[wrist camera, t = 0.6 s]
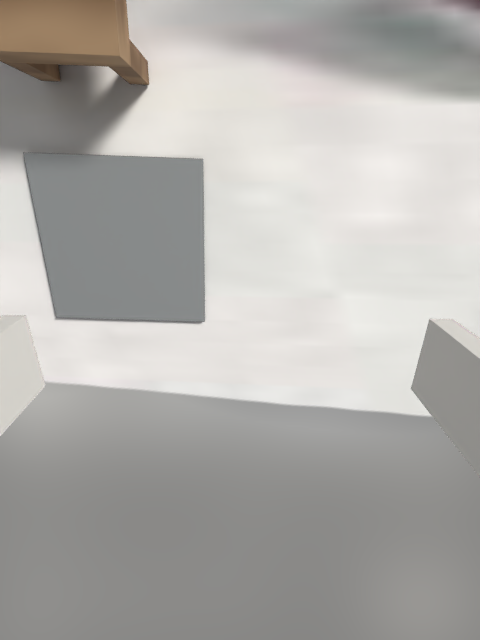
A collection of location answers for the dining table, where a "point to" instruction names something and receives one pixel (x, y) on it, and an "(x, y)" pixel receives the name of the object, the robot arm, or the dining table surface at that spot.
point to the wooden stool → (69, 37)
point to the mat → (121, 235)
